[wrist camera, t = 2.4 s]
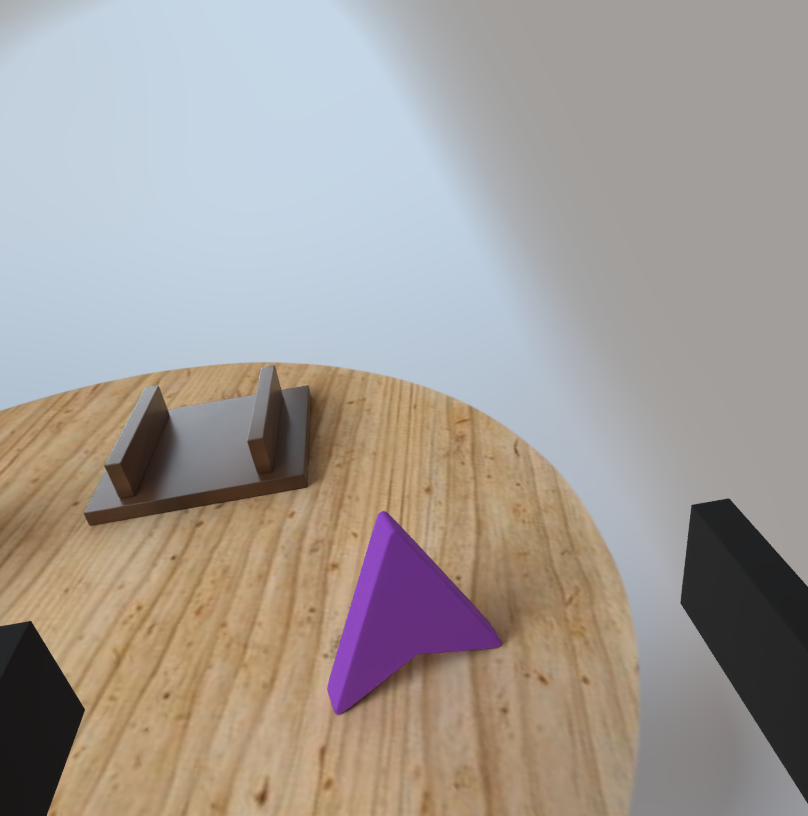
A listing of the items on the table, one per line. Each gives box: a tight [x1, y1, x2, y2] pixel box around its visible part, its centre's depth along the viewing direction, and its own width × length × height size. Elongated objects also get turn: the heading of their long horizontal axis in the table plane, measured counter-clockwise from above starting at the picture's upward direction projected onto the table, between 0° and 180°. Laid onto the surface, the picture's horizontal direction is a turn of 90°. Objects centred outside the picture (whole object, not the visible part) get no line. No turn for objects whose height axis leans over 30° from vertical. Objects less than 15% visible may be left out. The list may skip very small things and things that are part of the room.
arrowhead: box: [327, 511, 502, 715], centre depth 31 cm, size 10×2×10 cm
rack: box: [84, 366, 311, 525], centre depth 52 cm, size 16×14×4 cm
